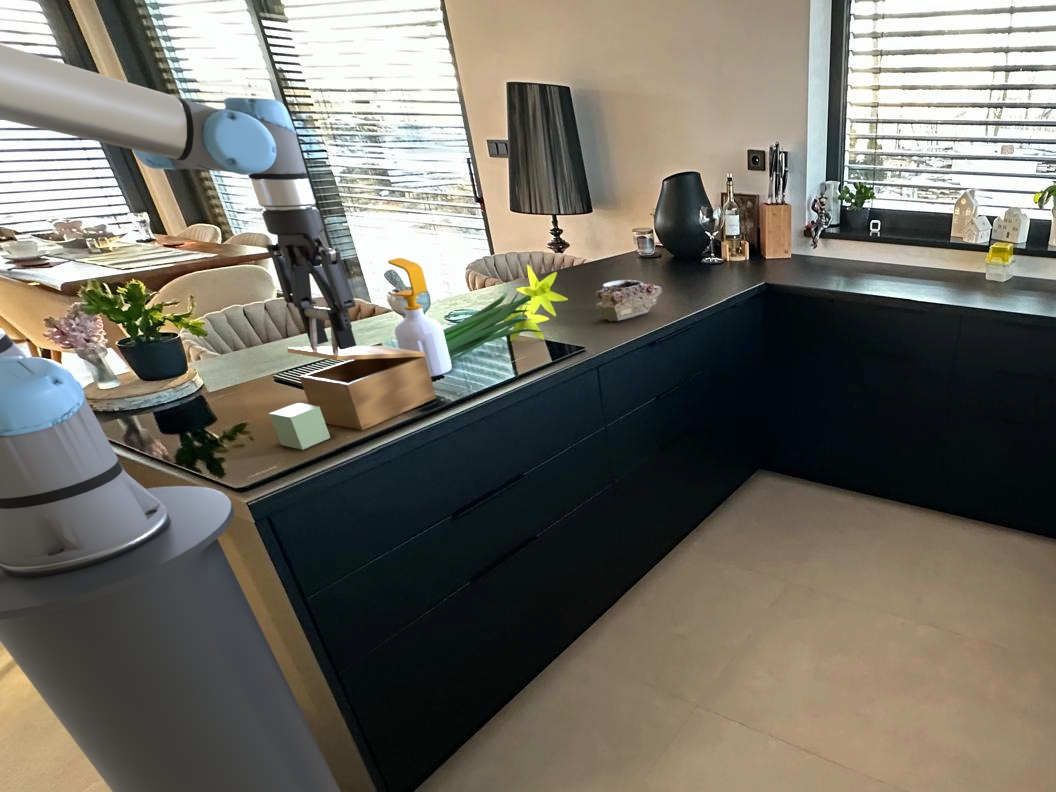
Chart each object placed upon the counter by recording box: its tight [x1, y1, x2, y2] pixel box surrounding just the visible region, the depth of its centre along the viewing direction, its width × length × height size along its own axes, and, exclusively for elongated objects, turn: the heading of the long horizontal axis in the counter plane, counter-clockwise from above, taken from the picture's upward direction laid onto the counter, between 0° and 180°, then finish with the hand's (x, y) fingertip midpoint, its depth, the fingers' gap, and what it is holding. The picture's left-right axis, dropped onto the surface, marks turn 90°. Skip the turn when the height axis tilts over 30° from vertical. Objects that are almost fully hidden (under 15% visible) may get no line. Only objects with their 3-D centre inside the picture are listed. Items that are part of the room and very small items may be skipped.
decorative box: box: [595, 279, 663, 322], centre depth 185 cm, size 13×20×10 cm, turn 139°
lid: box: [287, 305, 425, 361], centre depth 115 cm, size 18×12×8 cm, turn 162°
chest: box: [299, 357, 437, 431], centre depth 119 cm, size 17×12×9 cm
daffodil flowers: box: [443, 263, 569, 363], centre depth 154 cm, size 17×15×35 cm
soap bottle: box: [387, 257, 453, 378], centre depth 135 cm, size 9×9×25 cm
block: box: [268, 402, 331, 451], centre depth 107 cm, size 5×5×6 cm
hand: (333, 345), depth 111 cm, fingers closed on lid, 6 cm apart
